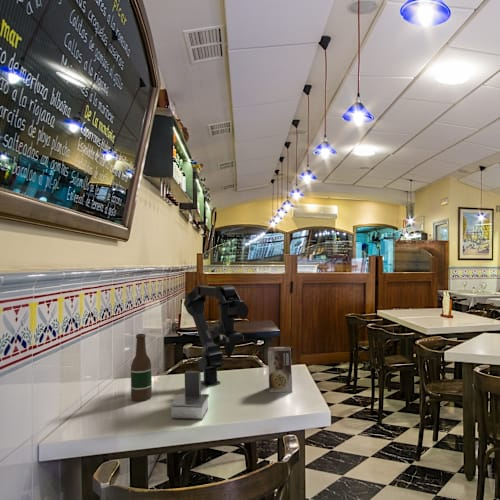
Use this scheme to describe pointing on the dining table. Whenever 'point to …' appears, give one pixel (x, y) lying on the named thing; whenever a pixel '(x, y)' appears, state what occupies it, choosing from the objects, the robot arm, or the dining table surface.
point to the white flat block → (189, 412)
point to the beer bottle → (141, 372)
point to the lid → (191, 391)
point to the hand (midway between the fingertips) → (228, 357)
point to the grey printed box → (280, 369)
